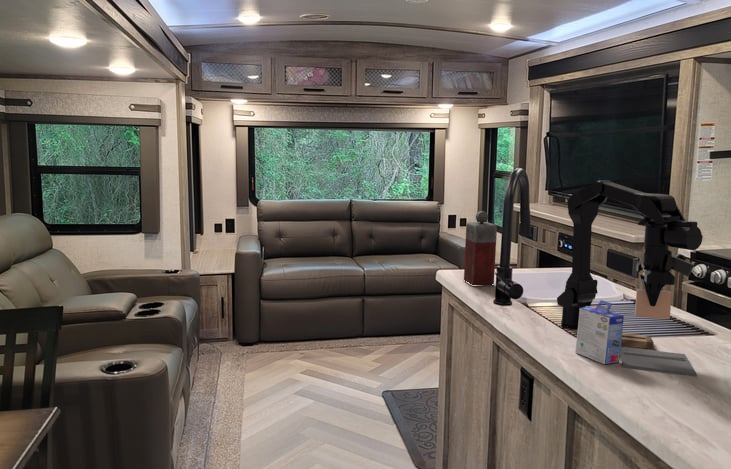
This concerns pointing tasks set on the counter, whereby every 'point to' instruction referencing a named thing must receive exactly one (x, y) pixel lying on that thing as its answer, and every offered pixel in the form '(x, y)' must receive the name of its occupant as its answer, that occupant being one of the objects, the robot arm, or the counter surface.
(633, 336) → the stand
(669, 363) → the mat
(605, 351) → the ink cartridge box
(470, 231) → the square decanter
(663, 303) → the tile
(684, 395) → the counter surface
